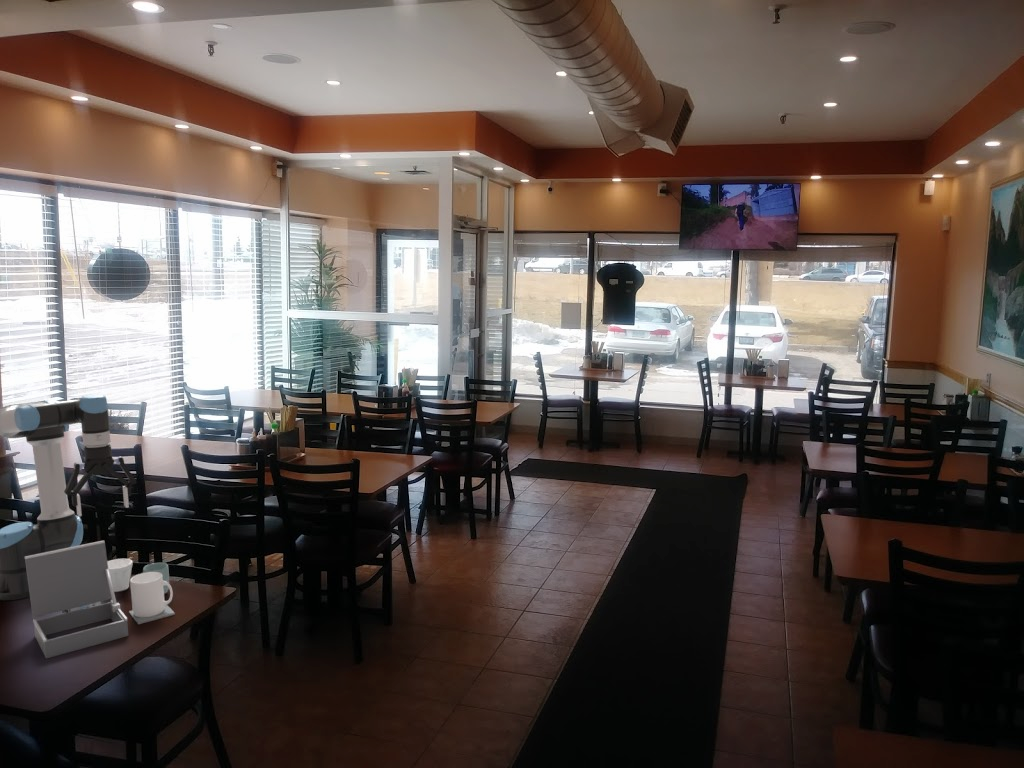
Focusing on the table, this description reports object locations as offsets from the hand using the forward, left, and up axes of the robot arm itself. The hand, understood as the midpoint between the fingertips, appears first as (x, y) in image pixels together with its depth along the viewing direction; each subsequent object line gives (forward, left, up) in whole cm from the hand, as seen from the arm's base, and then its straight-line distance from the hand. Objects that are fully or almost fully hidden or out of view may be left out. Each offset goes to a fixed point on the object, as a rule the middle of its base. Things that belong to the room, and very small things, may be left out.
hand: (103, 511), depth 255 cm
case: (+10, -11, -35) cm, 38 cm away
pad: (+7, +10, -35) cm, 37 cm away
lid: (-1, -11, -20) cm, 22 cm away
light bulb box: (-10, -7, -35) cm, 37 cm away
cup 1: (-22, +7, -35) cm, 42 cm away
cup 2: (-8, +16, -35) cm, 39 cm away
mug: (+7, +11, -34) cm, 37 cm away
